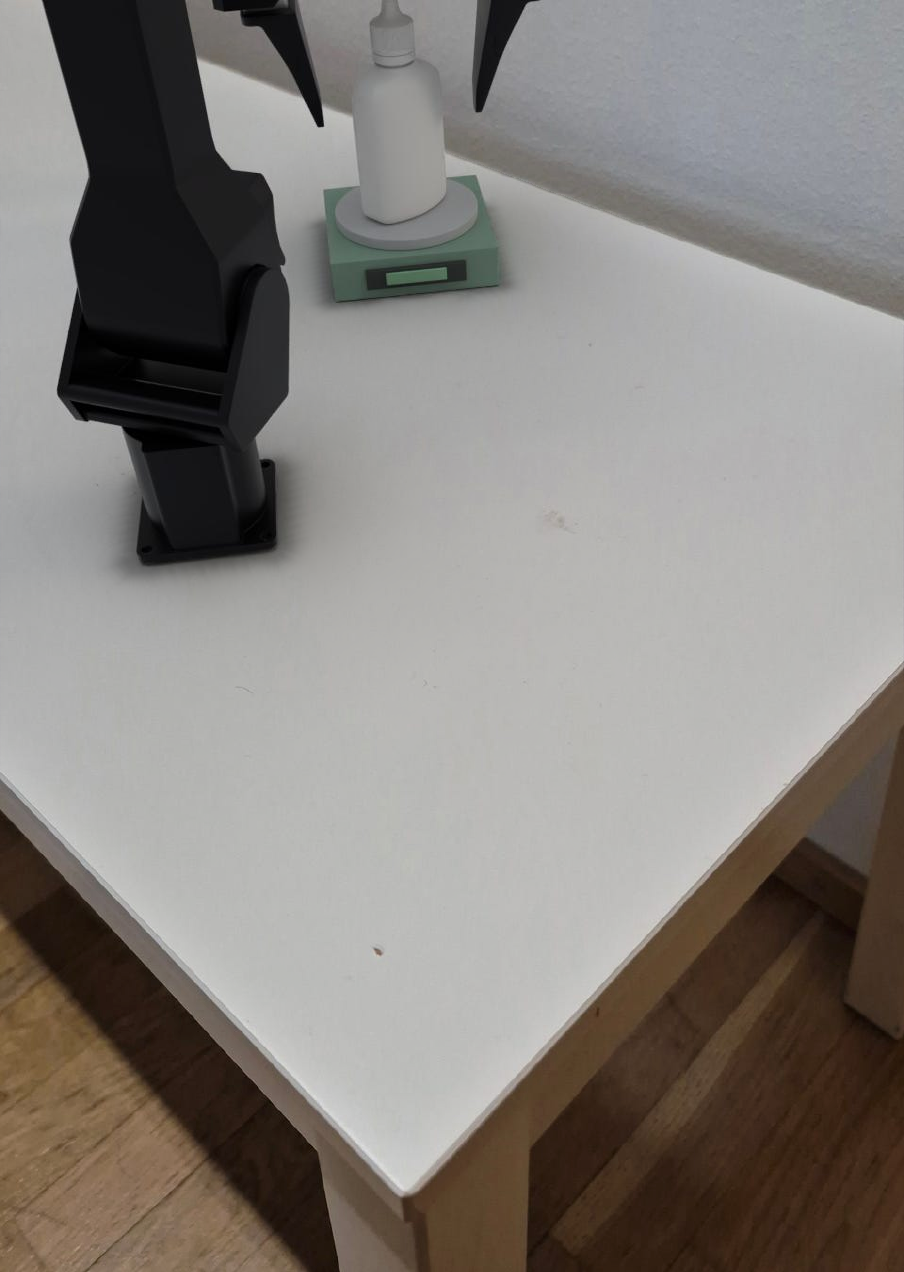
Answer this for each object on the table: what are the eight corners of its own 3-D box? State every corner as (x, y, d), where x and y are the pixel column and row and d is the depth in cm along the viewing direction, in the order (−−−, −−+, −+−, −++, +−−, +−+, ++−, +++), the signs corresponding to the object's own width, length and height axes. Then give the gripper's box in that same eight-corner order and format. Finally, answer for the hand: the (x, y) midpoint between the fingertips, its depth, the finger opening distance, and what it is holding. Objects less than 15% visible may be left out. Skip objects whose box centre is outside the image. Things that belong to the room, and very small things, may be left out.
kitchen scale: (500, 289, 70) (499, 239, 68) (335, 306, 70) (329, 256, 67) (477, 211, 78) (475, 163, 75) (327, 225, 77) (321, 178, 75)
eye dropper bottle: (352, 199, 72) (329, -12, 64) (439, 184, 73) (427, -26, 65) (369, 230, 69) (347, 13, 61) (459, 213, 70) (450, -3, 62)
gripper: (536, -253, 63) (534, 53, 74) (188, -226, 62) (240, 80, 73) (576, -212, 55) (567, 123, 66) (179, -180, 54) (238, 155, 65)
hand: (399, 117), depth 68 cm, fingers open, 9 cm apart
